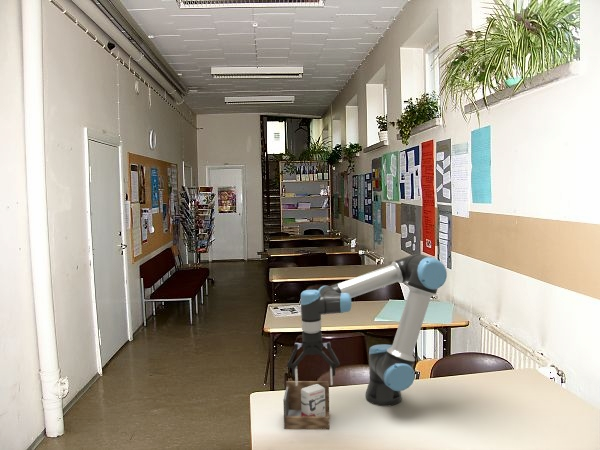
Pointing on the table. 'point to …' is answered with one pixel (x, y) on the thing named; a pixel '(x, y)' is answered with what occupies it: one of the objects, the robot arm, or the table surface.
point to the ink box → (313, 401)
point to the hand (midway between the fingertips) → (314, 384)
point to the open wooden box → (293, 407)
